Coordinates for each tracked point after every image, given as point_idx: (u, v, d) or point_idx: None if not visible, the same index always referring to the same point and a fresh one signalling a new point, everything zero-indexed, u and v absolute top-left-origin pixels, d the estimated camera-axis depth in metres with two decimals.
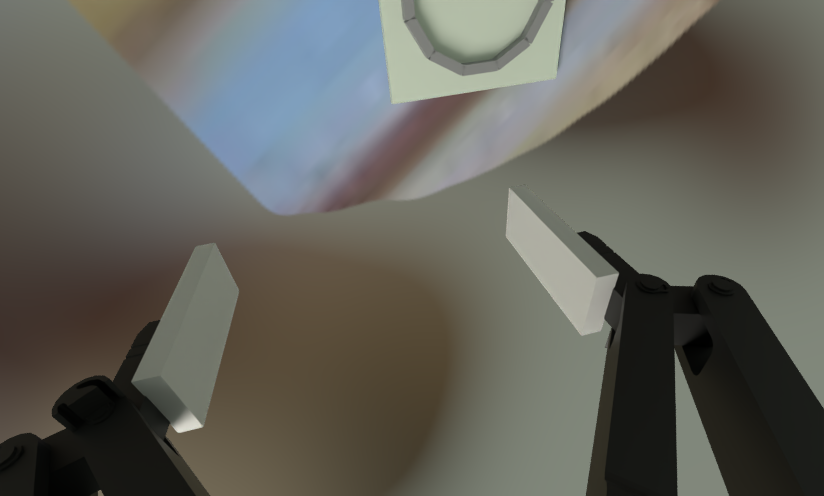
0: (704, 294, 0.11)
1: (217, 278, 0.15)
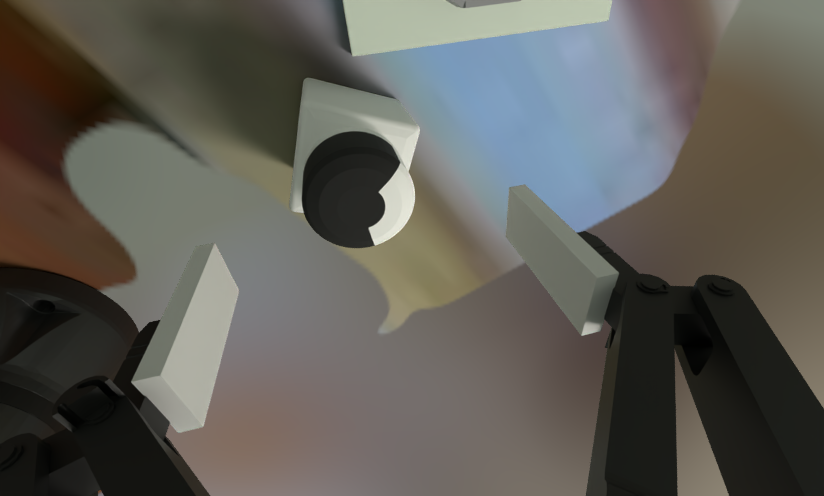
0: (704, 294, 0.11)
1: (217, 278, 0.15)
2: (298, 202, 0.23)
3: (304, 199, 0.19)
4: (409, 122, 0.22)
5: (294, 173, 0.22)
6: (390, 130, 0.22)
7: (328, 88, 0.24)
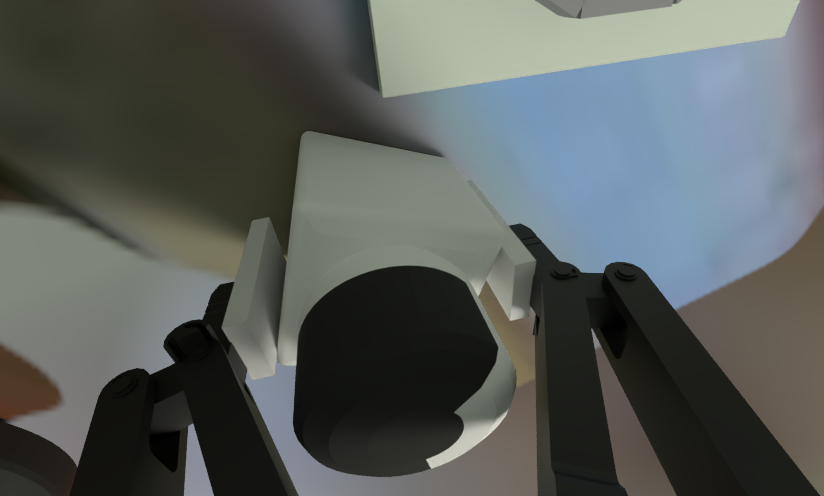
0: (613, 282, 0.11)
1: (273, 249, 0.16)
2: (291, 355, 0.13)
3: (297, 427, 0.09)
4: (487, 223, 0.13)
5: (283, 315, 0.13)
6: (456, 242, 0.12)
7: (342, 154, 0.14)
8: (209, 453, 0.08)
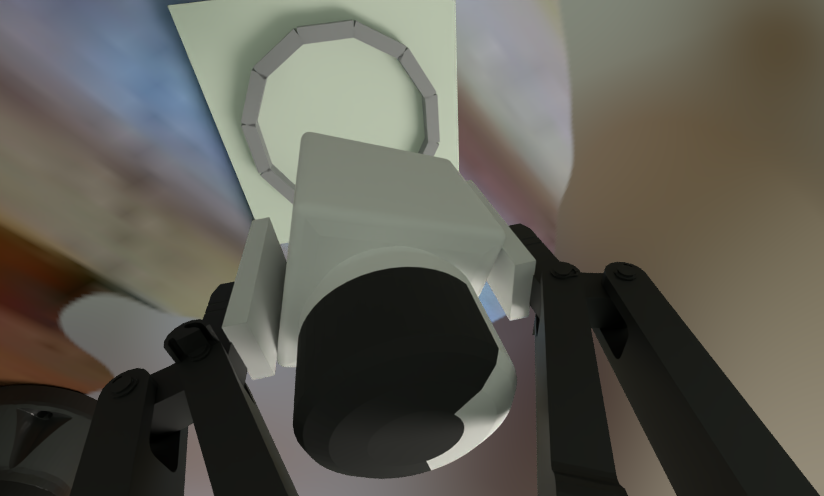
0: (613, 282, 0.11)
1: (273, 249, 0.16)
2: (291, 356, 0.13)
3: (297, 429, 0.09)
4: (488, 224, 0.13)
5: (283, 316, 0.13)
6: (457, 243, 0.12)
7: (342, 155, 0.14)
8: (209, 453, 0.08)
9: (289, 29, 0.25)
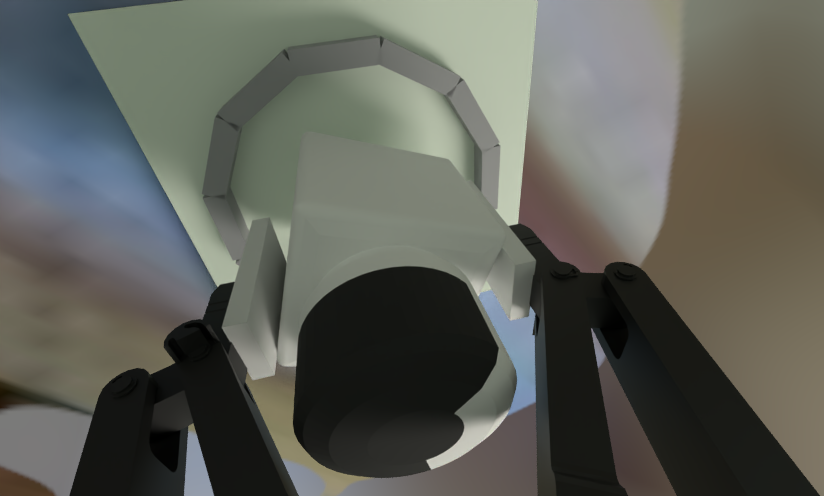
0: (613, 282, 0.11)
1: (273, 249, 0.16)
2: (291, 356, 0.13)
3: (297, 428, 0.09)
4: (488, 224, 0.13)
5: (283, 315, 0.13)
6: (457, 242, 0.12)
7: (342, 154, 0.14)
8: (209, 453, 0.08)
9: (276, 51, 0.16)
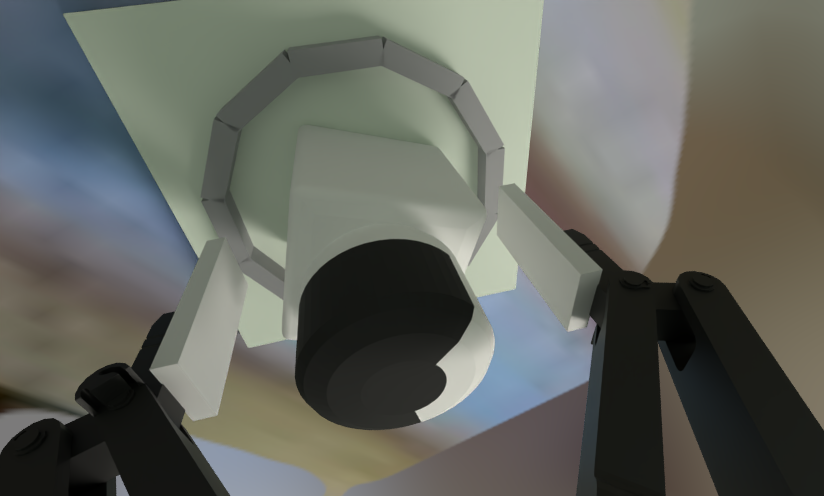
0: (686, 291, 0.11)
1: (228, 272, 0.15)
2: (295, 329, 0.15)
3: (299, 381, 0.10)
4: (470, 202, 0.14)
5: (286, 291, 0.14)
6: (441, 219, 0.13)
7: (336, 144, 0.16)
8: None
9: (277, 52, 0.15)
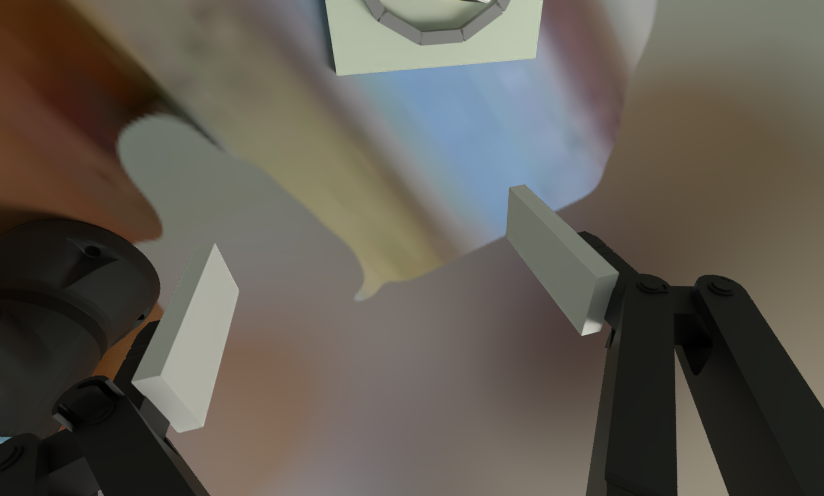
0: (704, 294, 0.11)
1: (217, 278, 0.15)
2: None
3: None
4: None
5: None
6: None
7: None
8: None
9: None
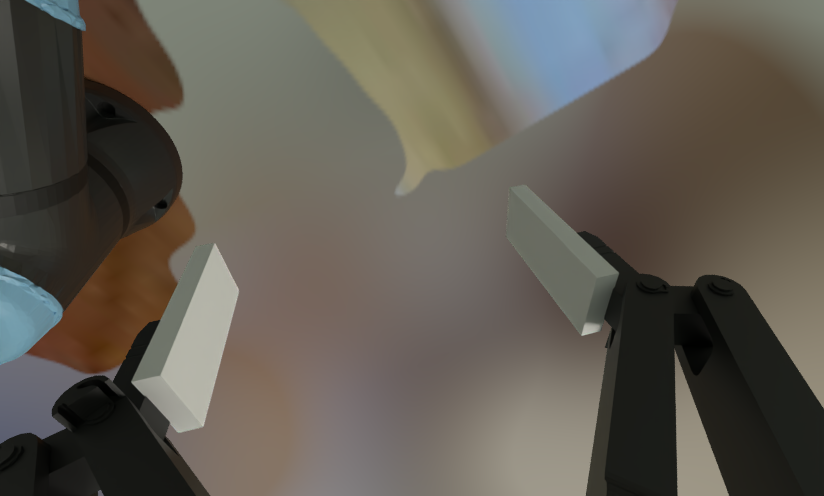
0: (704, 294, 0.11)
1: (217, 278, 0.15)
2: None
3: None
4: None
5: None
6: None
7: None
8: None
9: None
